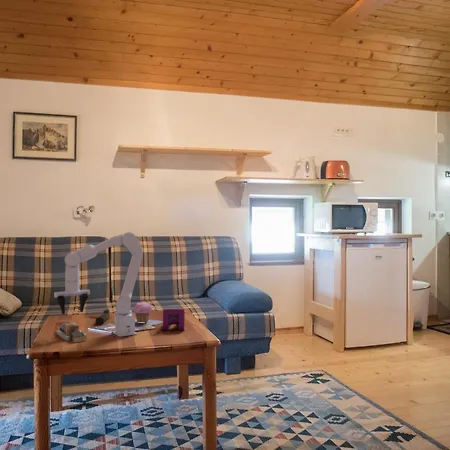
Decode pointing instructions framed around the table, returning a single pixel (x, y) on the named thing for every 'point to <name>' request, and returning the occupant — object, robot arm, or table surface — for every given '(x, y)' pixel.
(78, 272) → the robot arm
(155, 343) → the table surface
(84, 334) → the cradle
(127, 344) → the table surface
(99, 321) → the dark brown rough bar
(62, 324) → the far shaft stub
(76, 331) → the near shaft stub
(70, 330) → the block
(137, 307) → the cupcake
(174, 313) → the mounting bracket
